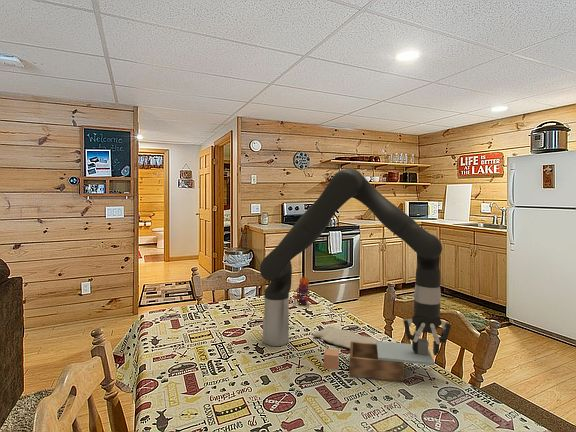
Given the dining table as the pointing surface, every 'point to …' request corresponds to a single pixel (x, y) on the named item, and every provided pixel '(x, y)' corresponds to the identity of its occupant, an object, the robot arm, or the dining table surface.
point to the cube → (331, 358)
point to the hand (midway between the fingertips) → (425, 353)
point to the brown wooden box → (373, 364)
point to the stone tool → (342, 337)
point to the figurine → (302, 292)
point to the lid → (405, 352)
